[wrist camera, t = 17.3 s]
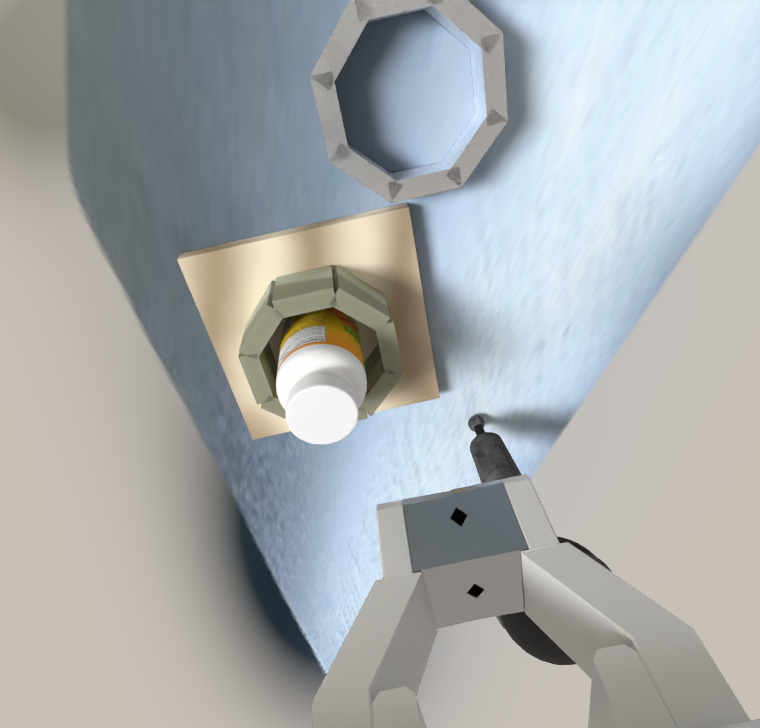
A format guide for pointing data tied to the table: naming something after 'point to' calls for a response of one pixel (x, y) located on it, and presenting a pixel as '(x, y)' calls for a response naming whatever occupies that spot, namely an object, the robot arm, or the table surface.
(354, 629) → the robot arm
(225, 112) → the table surface
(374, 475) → the table surface
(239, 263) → the socket board
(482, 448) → the microphone
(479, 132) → the holder ring
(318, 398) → the supplement bottle
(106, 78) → the table surface
